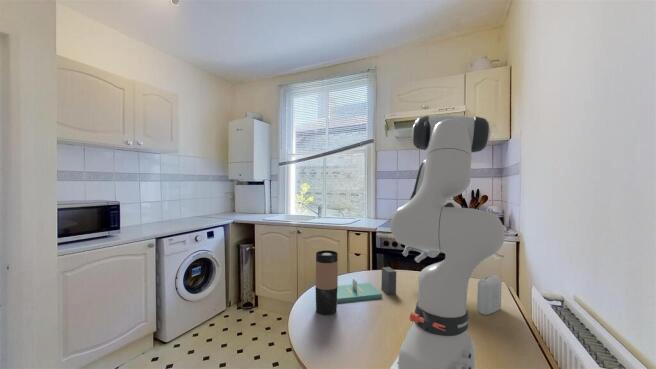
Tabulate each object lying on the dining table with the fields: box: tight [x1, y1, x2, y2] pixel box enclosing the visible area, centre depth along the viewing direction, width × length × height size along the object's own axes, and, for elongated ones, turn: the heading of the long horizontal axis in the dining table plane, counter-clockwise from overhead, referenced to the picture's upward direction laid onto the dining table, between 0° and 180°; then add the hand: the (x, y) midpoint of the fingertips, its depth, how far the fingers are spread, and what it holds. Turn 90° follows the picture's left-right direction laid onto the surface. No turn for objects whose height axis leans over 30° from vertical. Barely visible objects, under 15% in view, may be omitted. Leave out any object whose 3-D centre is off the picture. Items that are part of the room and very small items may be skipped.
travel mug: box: [315, 249, 339, 316], centre depth 98 cm, size 8×8×20 cm
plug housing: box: [381, 266, 397, 296], centre depth 115 cm, size 6×3×9 cm, turn 15°
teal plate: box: [337, 278, 383, 304], centre depth 112 cm, size 12×18×6 cm, turn 105°
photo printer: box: [476, 274, 503, 316], centre depth 99 cm, size 10×4×12 cm, turn 123°
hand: (409, 258), depth 117 cm, fingers open, 8 cm apart
